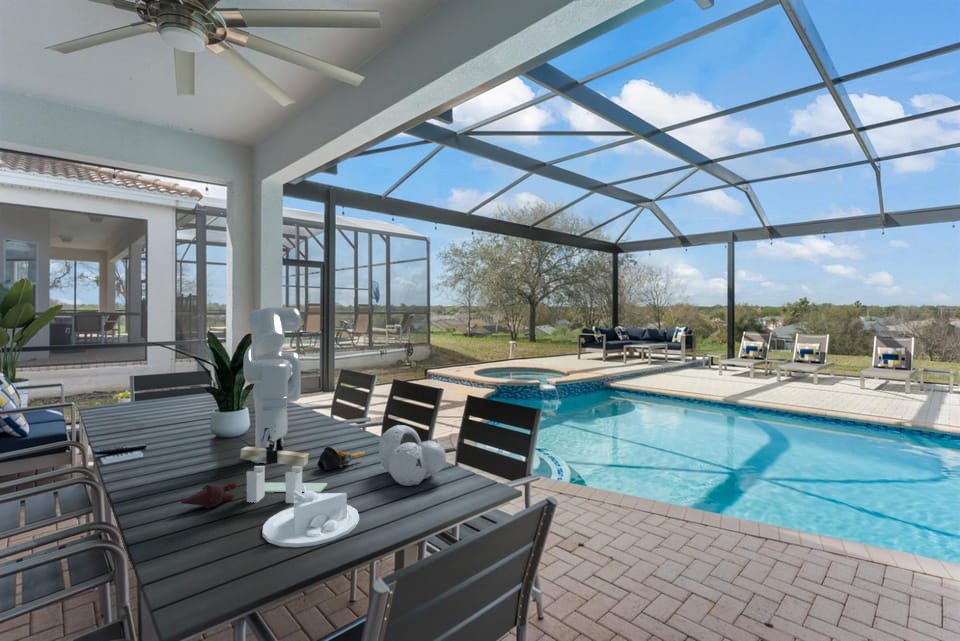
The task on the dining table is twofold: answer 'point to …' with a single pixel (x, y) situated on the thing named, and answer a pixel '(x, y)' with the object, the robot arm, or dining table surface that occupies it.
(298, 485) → the post
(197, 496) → the icecream
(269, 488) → the mat
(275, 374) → the robot arm
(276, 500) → the dining table surface
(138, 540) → the dining table surface
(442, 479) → the dining table surface
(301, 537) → the dish
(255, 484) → the post
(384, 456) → the grey lumpy clump
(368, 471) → the dining table surface
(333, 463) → the fried shrimp in bowl
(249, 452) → the rail
